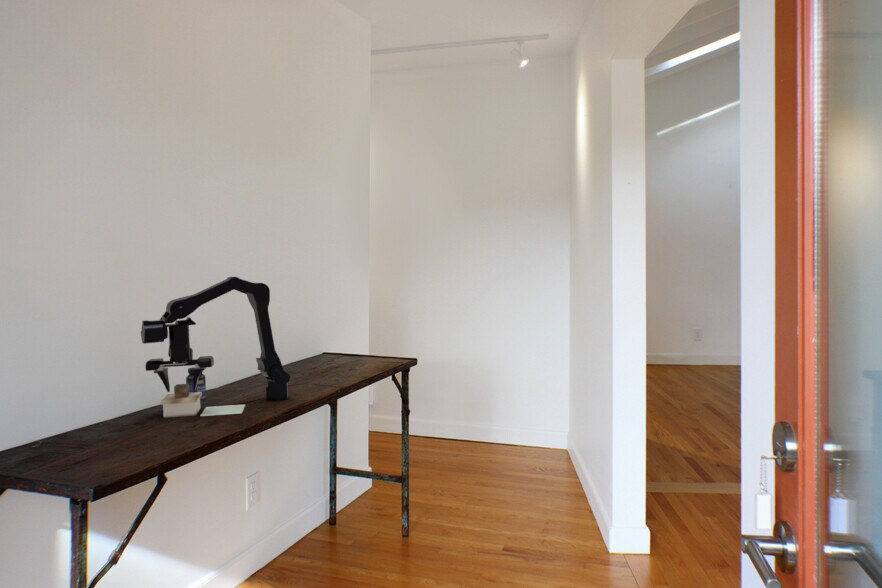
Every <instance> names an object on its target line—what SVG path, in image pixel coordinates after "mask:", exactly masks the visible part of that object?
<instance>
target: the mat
mask: <svg viewBox="0 0 882 588" xmlns="http://www.w3.org/2000/svg"><path fill="white" fill-rule="evenodd" d="M245 407H246V404H233V405H231V404H230V405H229V404H228V405H219V406H218V405H217V406H216V405H215V406H206V407H204V409H203V411H202V413H201V414H200V417H209V416H225V415H236V414H237V415H238V414H242V413H243V411H244V410H245Z"/></svg>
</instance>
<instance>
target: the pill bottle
mask: <svg viewBox="0 0 882 588" xmlns="http://www.w3.org/2000/svg"><path fill="white" fill-rule="evenodd" d="M195 368H196V366H193V367H189V368H187V373H188V375H187V376H186V377H185V384H189V393H195V392H202V396H201V397H200V402H201V401H205V400H206V399H207V388H206V387H207V386H206V384H207V383H206V374H203V373H204V370H202V372H201V374H200V376H199V379H198V383H197V386H196V390H194V389H193V376H194V369H195Z"/></svg>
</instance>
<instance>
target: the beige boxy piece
mask: <svg viewBox="0 0 882 588" xmlns="http://www.w3.org/2000/svg"><path fill="white" fill-rule="evenodd" d="M162 410H163V411H162V412H163V418H179V417H190V416H191V417H194V416H197V414H198V413H199V411H200V410H201V401H200V398H199V400H198V401H197V402H192V403H177V404H162Z"/></svg>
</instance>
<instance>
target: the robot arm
mask: <svg viewBox="0 0 882 588" xmlns="http://www.w3.org/2000/svg"><path fill="white" fill-rule="evenodd" d="M231 291H237V292H239V293H242V294H245V295H246V297H247V299H248V303H249V304H250V306H251V308H252V309H253V312H254V318H255V324H256V329H257V335H258V341H259V346H260V352H261V353H260V356H259V357H256V358H255V359H256V363H257V370H258V371H259V372H260V374H261V375H262V376H264V377H265V380H266V381H267V385H266V386H265V391H266V392H265V395H266V398H265V399H266V400H267V402H274V401H277V402H278V401H287V400H289V394H288V393H289V391H288V389H289V388H288V383H289V382H290V379H291V375H290V374H289V373H288V372H286V371H285V370H284V366H283V364H282V361H281V359H280V357H279V355H278V353H277V351H276V347H275V342H274V336H273V331H272V329H273V328H272V324H271V319H270V314H269V306H270V301H271V296H270V295H271V291H270V288H269V285H267V284H266V283H263V282H251V281H249V280H245V279H242V278H240V277H238V276H229V277H227V278H226V279H223V280H222V281H219V282H217V283H216V284H213V285H211V286H209V287H207V288H204V289H202V290H201V291H198V292H196V293H194V294H191V295H186V296H182V297H178V298H174V299H171V300H169V301H168V302H167V303H166V309H165V312H164V313H163V315H162V316H161V317H160V318H159V320H158V319H157V320H146V319H145V320H142V321H141V323H142V324H141V331H140V338H141V342H142V344H143V345H144V344H146V345H147V344H152V343H153V344H155V343H164V341H165V340H167V339H168V340H169V341H168V342H169V346H168V350H167V351H168V357H169V360H164V358H163V357H162V358H150V359H149V360H147V361H146V362H145V371H146V372H147V371H153V374H157V375H158V377H159V378H160V380H161V381H162V383H163V386H164V387H165V390H166V391H167V393H170V392H171V391H170V390H171V389H170V387H171V386H170V378H169V368H171V367H185V366H186V367H188V366H189V367H190V366H194V367H196V368H195V369H194V376H193V389H194V390H196V386H197V383H198V379H199V376H200V374H201V372H202V370H203V371H205V370H206V369H207V368H212V367H213V366H214V365H215V359H214V357H213V355H204V356H203V355H201V356H199V357H198V358H196V359H195V358H194V357H193V356H194V354H193V353H194V351H193V348H192V347H191V345H190V326H194V325H197V322H195V321H194V320H192V318H191V317H189V316H190V315H191V314H192V313H194V312H195V311H196V310H197V309H198V308H199V307H201V306H203V305H204V304H207V303H209V302H211V301H213V300H215V299H218V298H219V297H221V296H224V295H225V294H227V293H229V292H231ZM202 373H203V372H202Z"/></svg>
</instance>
